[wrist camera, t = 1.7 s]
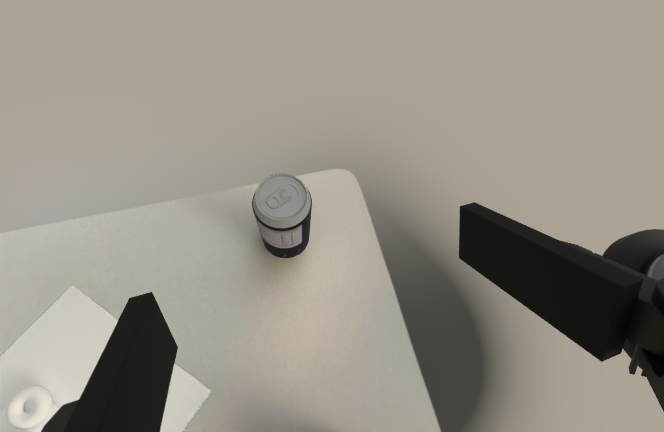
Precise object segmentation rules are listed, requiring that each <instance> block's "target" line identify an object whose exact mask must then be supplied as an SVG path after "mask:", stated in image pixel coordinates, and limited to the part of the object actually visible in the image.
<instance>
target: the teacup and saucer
mask: <svg viewBox="0 0 664 432" xmlns="http://www.w3.org/2000/svg"><path fill="white" fill-rule="evenodd" d="M59 409H60V407H59V406H58V405H57V404H56V403H54V402H53V396H52V394H51V392H50V390H49V389H48V388H46V387H45V386H43V385H40V384H30V385H26V386H24V387H22V388H20V389H19V390H18V391H16V392H15V393H14V394H13V395H12V396H11V398H10V399H9V401H8V403H7V405H6V406H5V407H3V408H2V409H1V410H0V432H19V431H21V432H24V431H25V430H26V429H27V430H31V431H36V432H41V430H42V429H43V427H44V425H45V424H46V423H47V422H48V421H49V420H50V419H51V418H52V416H53V415H54V414H55V413H56V412H57V411H58V410H59Z"/></svg>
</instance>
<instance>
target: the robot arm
mask: <svg viewBox="0 0 664 432" xmlns="http://www.w3.org/2000/svg"><path fill="white" fill-rule="evenodd" d="M459 239H460V240H459V258H460V259H461V260H462V261H464V262H465V263H467V264H468V265H470V266H471V267H472V268H474V269H475V270H476V271H478V272H479V273H480V274H482V275H483V276H484V277H486V278H487V279H489V280H490V281H491V282H493V283H494V284H496V285H497V286H498V287H500V288H501V289H502V290H504V291H505V292H507V293H508V294H509V295H511V296H512V297H514V298H515V299H516V300H518V301H519V302H520V303H522V304H523V305H524V306H526V307H527V308H529V309H530V310H531V311H533V312H534V313H535V314H537V315H538V316H540V317H541V318H542V319H544V320H545V321H547V322H548V323H549V324H551V325H552V326H553V327H555V328H556V329H558V330H559V331H560V332H562V333H563V334H565V335H566V336H567V337H568V338H570V339H571V340H573V341H574V342H575V343H577V344H578V345H579V346H581V347H582V348H584V349H585V350H586V351H588V352H589V353H590V354H592V355H593V356H595V357H596V358H598V359H599V360H600V361H604V360H606V359H609V358H611V357H613V356H616V355H618V354H620V353H621V352H622V348H623V345H624V342H625V338H628V339H629V340H631V341H633V342H634V343H636V347H635V350H634V353H633V356H632V360H631V363H630V366H629V372H630V374H635V372H636V369H637V366H638V365H641V367H642V369H643V371H642V374H641V375H642V376H645V377H647V379H648V381H649V383H650V385H651V387H652V389H653V391H654V393H655V395H656V397H657V399H658V401H659V403H660V405H661V407H662V409H663V411H664V254H660V255H657V256H654V257H652V258H651V259H649V260H648V261H647V262H646V263H645V264H644V266H643V267H642V269H641V271H640V273H639V272H637V271H635V270H633V269H630V268H628V267H626V266H623V265H621V264H619V263H617V262H614V261H612V260H610V259H605V257H603V256H601V255H598V254H596V253H594V254H593V253H592V251H589V250H587V249H585V248H583V247H580V246H578V245H575V244H571V243H567V242H563V241H559V240H557V239H554V238H552V237H550V236H548V235H545V234H543V233H541V232H539V231H537V230H534V229H532V228H530V227H528V226H526V225H523V224H521V223H519V222H517V221H514V220H512V219H510V218H508V217H506V216H503V215H501V214H499V213H497V212H494V211H492V210H490V209H488V208H486V207H483V206H481V205H479V204H477V203H471V204H467V205H464V206H460V237H459ZM177 348H178V347H177V344H176V342H175V340H174V338H173V336H172V334H171V332H170V330H169V327H168V325H167V323H166V321H165V319H164V317H163V315H162V312H161V310H160V308H159V306H158V304H157V302H156V300H155V297H154V295H153V293H152V292H150V293H146V294H143V295H139V296H136V297H132V298H129V300H128V302H127V304H126V306H125V308H124V310H123V312H122V314H121V316H120V318H119V320H118V322H117V324H116V326H115V328H114V330H113V332H112V334H111V336H110V338H109V340H108V342H107V344H106V346H105V348H104V350H103V352H102V354H101V356H100V358H99V360H98V362H97V364H96V366H95V368H94V370H93V372H92V374H91V376H90V378H89V380H88V382H87V384H86V387H85V389H84V391H83V393H82V395H81V397H80V399H79V400H76V401H73V402H70V403H67V404H64V405H62V406H61V408H60V409H59V410H58V411H57V412H56V413H55V414H54V415H53V416H52V418H51V419H50V420H49V421H48V422H47V423H46V424H45V425H44V427H43V429H42V430H41V432H160V429H161V424H162V419H163V414H164V410H165V405H166V400H167V396H168V391H169V386H170V381H171V377H172V372H173V367H174V363H175V358H176V353H177Z"/></svg>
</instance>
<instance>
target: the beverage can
mask: <svg viewBox="0 0 664 432" xmlns="http://www.w3.org/2000/svg"><path fill="white" fill-rule="evenodd" d="M252 207H253V211H254V214H255V217H256V220H257V223H258V226H259V229H260V232H261V235H262V238H263V241H264V244H265V246H266V248H267V249H268V251H269V252H270V253H272V254H273V255H275V256H277V257H281V258H291V257H294V256H296V255H298V254H300V253H301V252H302V251H303V250H304V249H305V248H306V246H307V244H308V241H309V232H310V219H311V207H312V199H311V195H310V193H309V191H308V189H307V188H306V187H305V185H304V184H303V183H302V182H301V181H300V180H299V179H298V178H296V177H295V176H292V175H289V174H275V175H271V176H269V177H267V178H266V179H264V180H263V181H262V182H261V183H260V184H259V186H258V187H257V189H256V192H255V194H254V196H253V201H252Z"/></svg>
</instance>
